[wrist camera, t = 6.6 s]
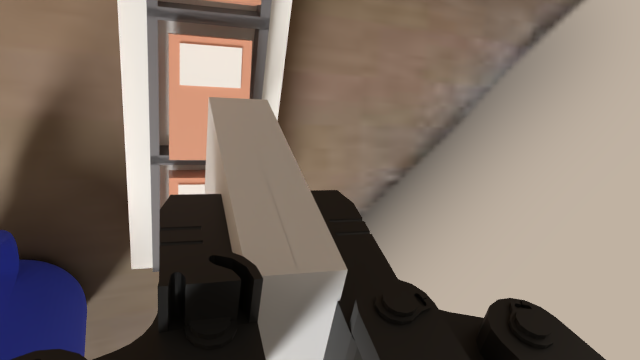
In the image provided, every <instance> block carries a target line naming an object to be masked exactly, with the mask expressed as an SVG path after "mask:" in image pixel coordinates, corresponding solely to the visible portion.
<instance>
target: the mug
mask: <svg viewBox="0 0 640 360" xmlns="http://www.w3.org/2000/svg"><path fill="white" fill-rule="evenodd" d="M86 318H87V304H86V298H85V294H84V291H83V289H82V287H81V285H80V284H79V282H78V281H77V280H76V279H75V278H74V277H73V276H72V275H71V274H70V273H68V272H67V271H65V270H64V269H62V268H60V267H58V266H56V265H53V264H50V263H47V262H43V261H36V260H19V254H18V247H17V244H16V241H15V238H14V237H13V235H12V234H11V233H10V232H8V231H5V230H0V360H11V359H13V358H16V357H19V356H22V355H25V354H27V353H30V352H33V351H37V350H49V349H63V350H67V351H71V352H75V353H79V354H81V355H82V356H83V357H84V352H85V335H86Z"/></svg>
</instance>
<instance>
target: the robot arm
mask: <svg viewBox="0 0 640 360" xmlns="http://www.w3.org/2000/svg"><path fill="white" fill-rule="evenodd" d="M11 360H87V359H86V358H84V357H83V356H82V355H81V354H79V353H75V352H71V351H67V350H63V349H49V350H37V351H33V352H30V353H27V354H25V355H22V356H19V357H16V358H13V359H11ZM93 360H605V359H604V358H603V357H602V356H601V355H600V354H598V353H597V352H596V351H595V350H594V349H592V348H591V347H590V346H589V345H587V343H585V342H584V341H583V340H582V339H581V338H579V337H578V336H577V335H576V334H575V333H573V332H572V331H571V330H570V329H569V328H568V327H566V326H565V325H564V324H563V323H562V322H561V321H559V320H558V319H557V318H556V317H554V316H553V315H551V314H550V313H549V312H547V311H546V310H544V309H543V308H541V307H539V306H537V305H534V304H532V303H530V302H527V301H525V300H519V299H513V298H507V299H500V300H497V301H496V302H494V303H493V304H492V305H490V307H489V308H488V311H487V313H486V315H485V317H484V318H481V317H475V316H469V315H463V314H457V313H451V312H446V311H443V310H439V309H438V308H437V306H436V305H435V303H434V302H433V301H432V300H431V299H430V298H429V297H428V296H427V294H426V293H425V292H423V291H422V290H420V289H419V288H417V287H416V286H414V285H412V284H410V283H407V282H404V281H401V280H398V279H397V277H396V275H395V273H394V272H393V270H392V268H391V267H390V265H389V263H388V261H387V260H386V258H385V256H384V255H383V253H382V251H381V250H380V248H379V246H378V244H377V243H376V241H375V239H374V238H373V236H372V234H370V231H369V229H368V227H367V226H366V224H365V222H364V221H362V217H361V215H360V214H359V212H358V210H357V208H356V207H355V205H354V203H353V202H351V201H350V200H349V199H347V198H346V197H345V196H344V195H342V194H341V193H340V192H339V191H337V190H321V191H310V189H309V187H308V185H307V183H306V181H305V178H304V176H303V174H302V172H301V170H300V168H299V166H298V164H297V162H296V159H295V157H294V155H293V153H292V151H291V149H290V147H289V145H288V142H287V140H286V138H285V136H284V134H283V132H282V130H281V128H280V126H279V123H278V121H277V119H276V117H275V115H274V113H273V111H272V109H271V106H270V104H269V102H268V100H262V99H240V98H219V97H209V101H208V124H207V147H206V170H205V194H178V195H170V196H169V198H168V199H167V200H166V202H165V203H164V204H163V206H162V207H161V209H160V231H159V284H158V313H157V316H156V318H155V320H154V322H153V323H152V325H151V326H150V327H149V328H148V330H147V331H146V332H145V333H144V334H143V335H142V336H140V337H139V338H138V339H136V340H135V341H134V342H132V343H131V344H129V345H127V346H125V347H123V348H121V349H119V350H117V351H114V352H112V353H109V354H106V355H104V356H101V357H98V358H96V359H93Z"/></svg>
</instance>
